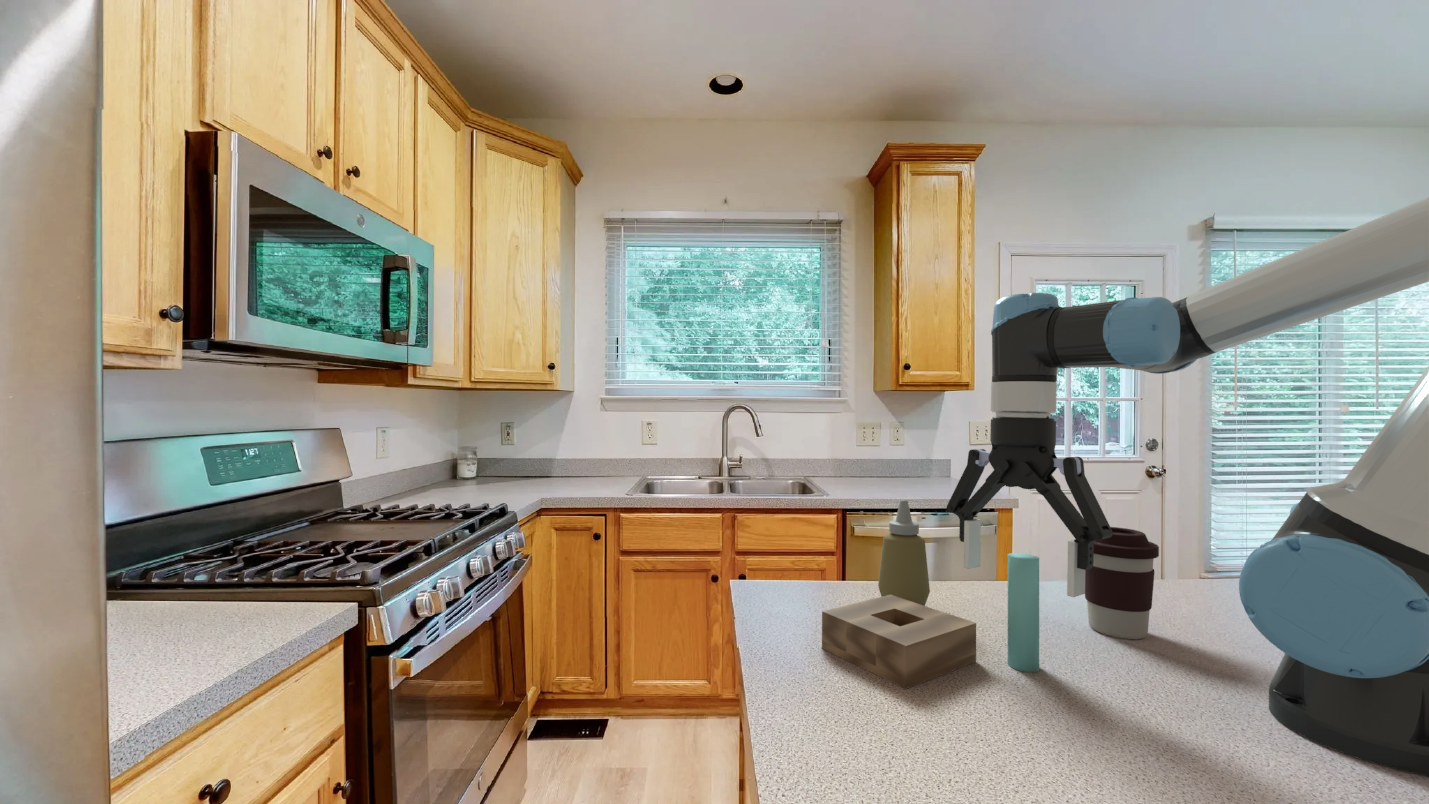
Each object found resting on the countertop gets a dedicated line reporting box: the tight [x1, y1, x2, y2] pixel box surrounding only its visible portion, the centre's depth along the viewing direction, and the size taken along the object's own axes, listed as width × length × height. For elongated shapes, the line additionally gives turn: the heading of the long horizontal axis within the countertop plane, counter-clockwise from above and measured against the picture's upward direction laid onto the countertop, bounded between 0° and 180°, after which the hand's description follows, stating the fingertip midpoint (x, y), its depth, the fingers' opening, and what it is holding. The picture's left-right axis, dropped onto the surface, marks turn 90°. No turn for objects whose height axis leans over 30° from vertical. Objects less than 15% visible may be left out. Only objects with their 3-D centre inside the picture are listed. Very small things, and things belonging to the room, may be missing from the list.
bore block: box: [821, 595, 977, 690], centre depth 78 cm, size 14×14×5 cm
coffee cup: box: [1084, 526, 1160, 640], centre depth 88 cm, size 10×10×15 cm
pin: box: [1007, 552, 1040, 673], centre depth 75 cm, size 4×4×14 cm
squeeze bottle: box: [878, 499, 931, 606], centre depth 96 cm, size 8×8×18 cm
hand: (1020, 580), depth 76 cm, fingers open, 13 cm apart
